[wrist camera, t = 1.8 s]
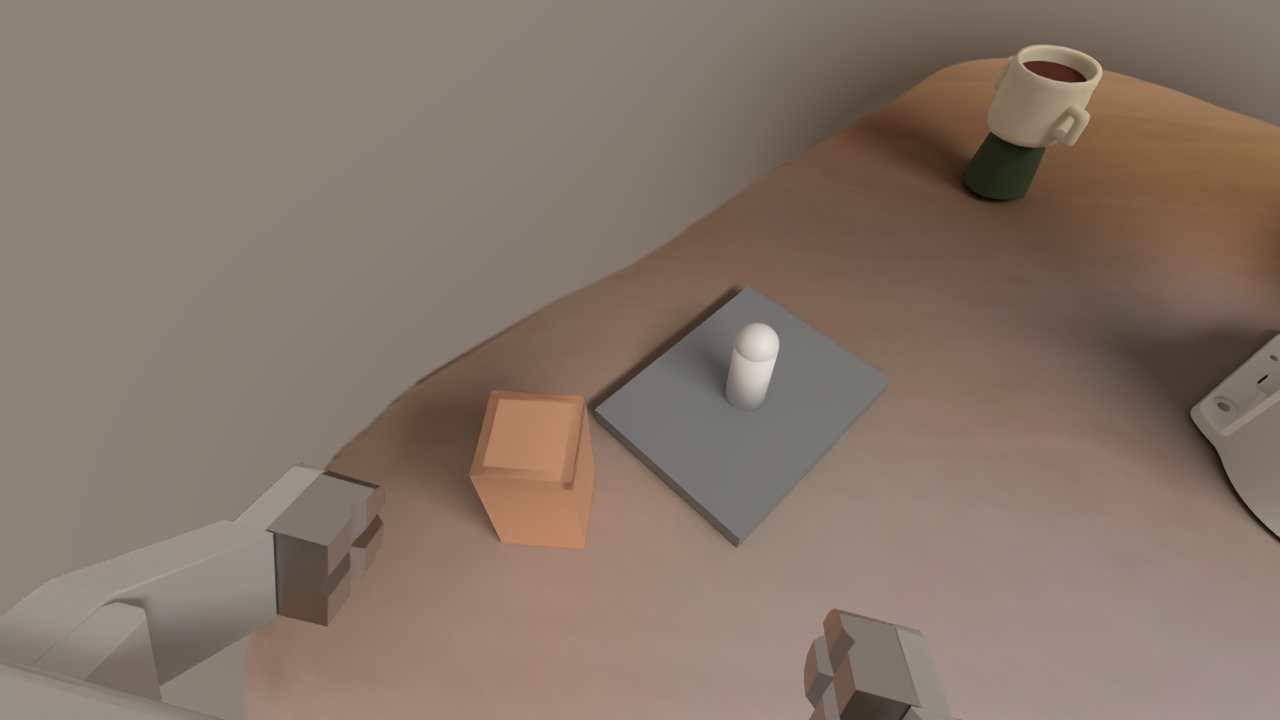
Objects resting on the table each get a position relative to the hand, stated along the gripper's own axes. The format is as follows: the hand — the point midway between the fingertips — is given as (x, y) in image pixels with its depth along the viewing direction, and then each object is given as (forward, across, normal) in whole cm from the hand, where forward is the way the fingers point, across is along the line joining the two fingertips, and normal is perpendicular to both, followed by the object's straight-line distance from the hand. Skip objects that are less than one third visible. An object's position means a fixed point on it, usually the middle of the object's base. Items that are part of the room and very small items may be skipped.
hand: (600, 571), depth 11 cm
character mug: (+62, -30, -3) cm, 69 cm away
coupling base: (+35, -8, +14) cm, 38 cm away
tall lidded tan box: (+25, +4, +21) cm, 33 cm away
